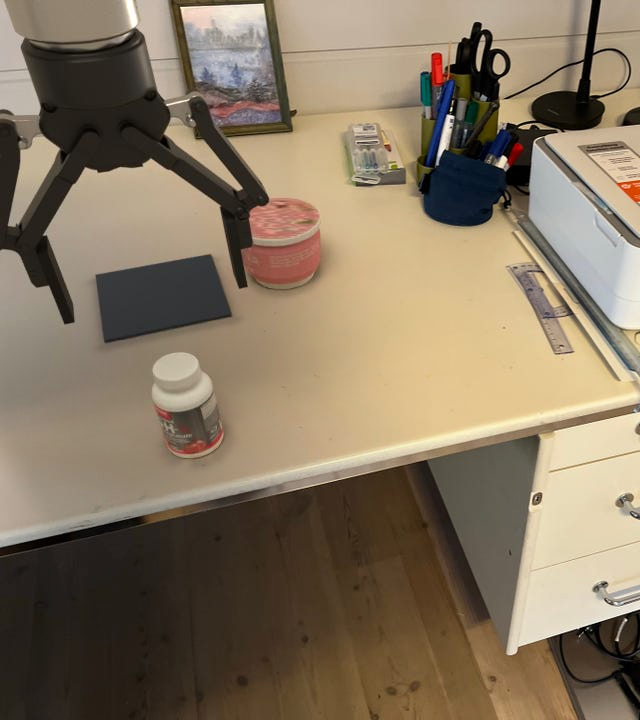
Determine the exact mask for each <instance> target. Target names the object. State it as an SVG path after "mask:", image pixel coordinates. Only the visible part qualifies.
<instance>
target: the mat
mask: <svg viewBox="0 0 640 720" xmlns="http://www.w3.org/2000/svg"><path fill="white" fill-rule="evenodd" d="M95 281H96V289H97V290H96V291H97V297H98V298H97V299H98V304H99V312H100V319H101V327H102V328H101V329H102V335H103V342H104V343H105V344H106V343H111V342H117V341H120V340H125V339H129V338H136V337H139V336H143V335H150V334H154V333H158V332H164V331H168V330H172V329H178V328H182V327H186V326H190V325H196V324H201V323H206V322H210V321H216V320H221V319H224V318H225V319H226V318H230V317H232V315H233V314H232V312H231V308H230V305H229V303H228V300H227V297H226V293H225V291H224V288H223V285H222V283H221V280H220V277H219V273H218V270H217V267H216V265H215V262H214V258H213V255H212V254H211V253H209V254H203V255H198V256H196V255H195V256H192V257H186V258H180V259H175V260H170V261H164V262H158V263H153V264H147V265H141V266H135V267H131V268H124V269H120V270H114V271H109V272H108V271H107V272H102V273H97V274H95Z"/></svg>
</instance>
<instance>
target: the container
mask: <svg viewBox="0 0 640 720" xmlns="http://www.w3.org/2000/svg"><path fill="white" fill-rule="evenodd" d="M249 213H250V218H249V222H250V228H251V233H252V239H253V244H252V247H251V248H246V249H241V253H242V259H243V264H244V268H246V269H245V270H247V271H248V273H249V274H250V276H251V277H253V279H255V280H256V282H257V283H258V284H259V285H260V286H263V287H265V288H269V289H273V290H289V289H294V288H298V287H301V286H303V285H305V284H307V283H308V282H309V281H310V280H311V279H312V278H313V277H314V275H315V272H316V271H317V270H318V267H319V265H320V262H321V258H322V246H321V224H322V219H321V217H322V216H321V212H320V210H319V209H318V208H317V207H316V206H315V205H313V204H312V203H310V202H307V201H306V200H302V199H299V198H293V197H271V198H270V197H269V203H268V204H267V205H266V206H262V207H260V206H257V207H255V208H253V209H252V210H251V211H250V212H249Z"/></svg>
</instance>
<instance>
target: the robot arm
mask: <svg viewBox="0 0 640 720" xmlns="http://www.w3.org/2000/svg"><path fill="white" fill-rule="evenodd" d="M3 2H4V4H5V7H6V11H7V13H8V16H9V19H10V22H11V24H12V27H13V30H14V32H15V33H16V34H18V35H19V36H21V37H22V38H23V40H22V42H21V45H20V50H21V54H22V56H23V59H24V62H25V65H26V68H27V71H28V74H29V77H30V80H31V83H32V86H33V88H34V91H35V94H36V98H37V101H38V103H39V107H40V108H39V113H38V114H18V115H17V114H14V113H13V112H12V111H11V110H9V109H5V108H1V109H0V252H1V251H2V250H5V251H12V252H14V253H16V254H18V256H19V257H20V261H21V262H22V264H23V266H24V267H23V268H24V270H25V271H26V274H27V276H28V279H29V281H30V283H31V284H32V285H33V286H34V288H36V289H38V288H45V287H49V289H50V290H49V291H50V292H51V295H52V297H53V299H54V303H55V305H56V307H57V309H58V312H59V315H60V317H61V319H62V322H63V324H64V325H71V324H73V323H74V324H75V323H76V321H75V319H76V318H75V309H74V302H73V299H72V296H71V294H70V292H69V289H68V287H67V284H66V281H65V279H64V276H63V273H62V271H61V270H62V269H60V266H59V265H60V264H59V263H58V261H57V258H56V254H55V252H54V250H53V247H52V245H51V242H50V240H49V236H48V235H47V234H45V233H46V231H47V229H48V228H49V226H50V224H51V223H52V221H53V219H54V218H55V216H56V215H57V212H58V211H59V209H60V207H61V206H62V204H63V202H64V201H65V199H66V197H67V196H68V194H69V192H70V190H71V189H72V187H73V186H74V185H76V183H77V182H78V181H79V179H80V178H81V176H82V174H83V173H84V170H85V169H89V170H92V171H96V172H97V174H102V173H109V172H111V171H114V170H117V169H119V168H125V169H136V168H143V167H144V164H146V163H148V162H149V161H150V160H152V161H153V162H155V163H157V164H158V165H159V166H160V167H162V168H164V169H165V170H167V171H171V172H173V174H175V175H177V176H178V177H179V178H181V179H182V180H184V181H185V182H186V183H188V184H189V185H191V186H192V187H193V188H194V189H196V190H198V191H199V192H200V193H202V194H203V195H205V196H206V197H208V198H209V199H211V201H213V202H215V203H216V204H217V205H218V206H219V211H220V216H221V220H222V225H223V226H222V227H223V230H224V235H225V239H226V244H227V250H228V255H229V260H230V265H231V269H232V274H233V276H234V279H235V282H236V285H237V287H238V289H239V290H241V289H245V288H248V287H249V286H248V281H247V275H246V269H245V266H244V263H243V259H242V253H241V249H246V248H251V247H252V244H253V239H252V233H251V228H250V222H249V218H250V213H249V212H250V211H251V210H252V209H253V208H255V207H257V206H260V207H262V206H266V205H267V204H268V203H269V198H270V197H269V194H268V192H267V191H266V188H265V186H264V184H263V182H262V181H261V180H260V179H259V177H258V176H257V175H256V173H255V172H254V171H253V170H252V168H251V167H250V165H248V163H247V162H246V160H245V159H244V158H243V156H241V154H240V153H239V151H238V150H237V149H236V148H235V146H234V145H233V144H232V143H231V141H230V140H229V139H228V137H227V135H225V134H224V132H223V131H222V129H221V128H220V127H219V126H218V124H217V123H216V122H215V121H214V119H213V118H212V115H211V111H210V109H209V105H208V103H207V102H206V99H205V97H204V95H203V92H202V91H201V89H199V88H197V87H190V88H188V89H186V92H185V94H184V95H180V96H176V97H171V98H168V99H164V98H163V97H162V96H161V94H160V93H159V91H158V87H157V83H156V78H155V73H154V71H153V66H152V61H151V58H150V53H149V49H148V46H147V45H148V44H147V41H146V36H145V34H144V33H143V32H142V31H140V29H138V28H137V27H138V25H139V24H140V23H141V15H140V11H139V6H138V2H137V0H3ZM172 118H176V119H179V120H180V121H181V122H182V123H183V125H184V126H185V127H187V128H196V129H197V131H198V134H199V135H200V137H201V138H202V140H203V141H204V142H205V143H206V145H207V146H208V147H209V149H210V150H211V151H212V152H213V153H214V155H215V156H216V157H217V158H218V160H219V161H220V162H221V163H222V165H223V166H224V167H225V168H226V169H227V171H228V172H229V173H230V175H232V177H233V178H234V180H236V182H237V183H238V185H239V186H240V187H241V189H239V190H238V189H236V188H235V187H234V186H232V185H231V184H230V183H228V181H226V180H224V179H223V178H221V177H220V176H219V175H218V174H216V173H215V172H213V171H212V170H211V169H210V168H208V167H207V166H205V165H204V164H202V162H200V161H198V159H196V158H195V157H193V156H192V155H191V154H189V153H188V152H186V151H185V150H184V149H183V148H181V147H180V146H178V144H177V143H176V142H174V140H173V139H172V138H170V137H169V136H168V135H166V134H165V133H166V131H167V129H168V127H169V125H170V123H171V119H172ZM38 135H42V136H43V137H44V138H45V139H46V140H47V141H49V142H50V143H52V144H53V145H54V146H56V147H57V148H58V149H59V150H58V151H57V153H56V155H55V159H54V161H53V163H52V165H51V167H50V169H48V172H47V174H46V175H45V177H44V179H43V180H42V183H41V184H40V186H39V187H38V189H37V191H36V193H35V194H34V196H33V198H32V200H31V201H30V204H28V207H27V208H26V210H25V212H24V213H23V215H22V217H21V219H20V221H19V222H18V223H17V222H16V223H15V225H14V226H13V225H12V226H11V225H9V223H10V216H11V213H12V209H13V208H12V207H13V204H14V203H13V202H14V198H15V193H16V187H17V182H18V178H19V173H20V168H21V151H22V150H23V151H24V150H25V151H26V150H29V149H30V148H31V147H32V146H33V139H34V137H36V136H38Z"/></svg>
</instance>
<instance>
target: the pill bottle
mask: <svg viewBox="0 0 640 720" xmlns="http://www.w3.org/2000/svg"><path fill="white" fill-rule="evenodd" d="M152 375H153V380H154V383H153V385H152V388H151V393H150V394H151V399H152V403H153V406H154V409H155V412H156V415H157V418H158V421H159V424H160V427H161V431H162V435H163V437H164V441H165V444H166V447H167V449H168V450H169V452H170V453H171V454H173V455H174V456H175V457H179V458H181V459H182V458H183V459H197V458H201V457H204V456H207V455H209V454H211V453H212V452H214V451H215V450H216V449H218V447H219V446H220V445H221V443H222V442H223V440H224V435H225V434H224V427H223V423H222V418H221V415H220V410H219V407H218V402H217V397H216V394H215V389H214V385H213V382H212V379H211V377H210V376H209V374H207V373H206V372H205V371H203V370H201V365H200V362H199V360H198V359H197V357H196V356H194V355H193V354H191V353H189V352H183V351H181V352H180V351H179V352H171V353H168V354H166V355H163V356H161V357H160V358H158V360H156V361H155V362H154V363H153V366H152Z"/></svg>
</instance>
